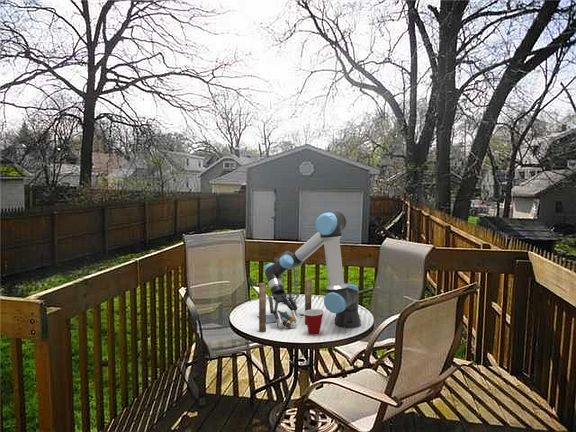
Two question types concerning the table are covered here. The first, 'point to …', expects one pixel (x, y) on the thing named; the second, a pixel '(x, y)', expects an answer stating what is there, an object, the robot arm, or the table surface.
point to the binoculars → (288, 317)
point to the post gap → (263, 302)
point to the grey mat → (272, 318)
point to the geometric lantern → (294, 276)
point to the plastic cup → (314, 320)
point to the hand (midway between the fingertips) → (288, 322)
